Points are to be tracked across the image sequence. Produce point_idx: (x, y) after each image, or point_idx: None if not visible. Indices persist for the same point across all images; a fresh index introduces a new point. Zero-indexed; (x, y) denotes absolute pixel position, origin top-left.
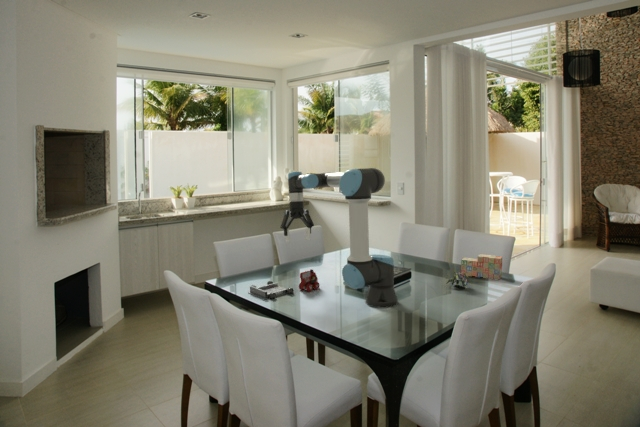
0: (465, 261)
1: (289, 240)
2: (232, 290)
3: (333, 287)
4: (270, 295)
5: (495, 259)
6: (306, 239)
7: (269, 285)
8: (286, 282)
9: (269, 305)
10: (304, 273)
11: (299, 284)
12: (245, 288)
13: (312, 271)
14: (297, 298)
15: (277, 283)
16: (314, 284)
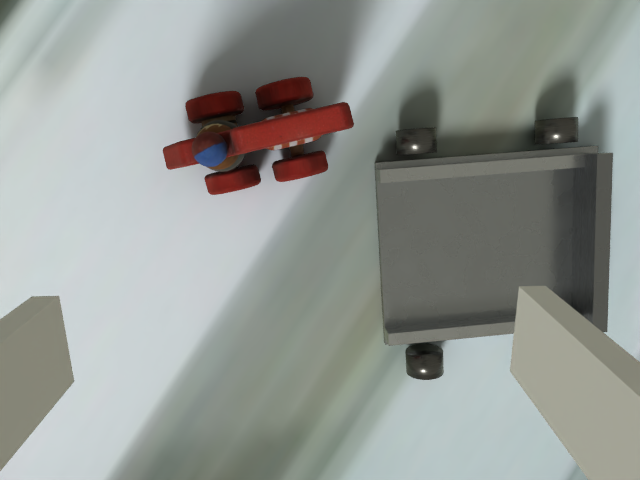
0: None
1: (532, 297)
2: None
3: (93, 61)
4: (577, 127)
5: None
6: (70, 384)
7: (454, 326)
8: (289, 370)
9: (634, 29)
10: (317, 108)
11: (323, 167)
12: None
13: (211, 132)
14: (432, 26)
15: (390, 332)
16: (235, 96)
